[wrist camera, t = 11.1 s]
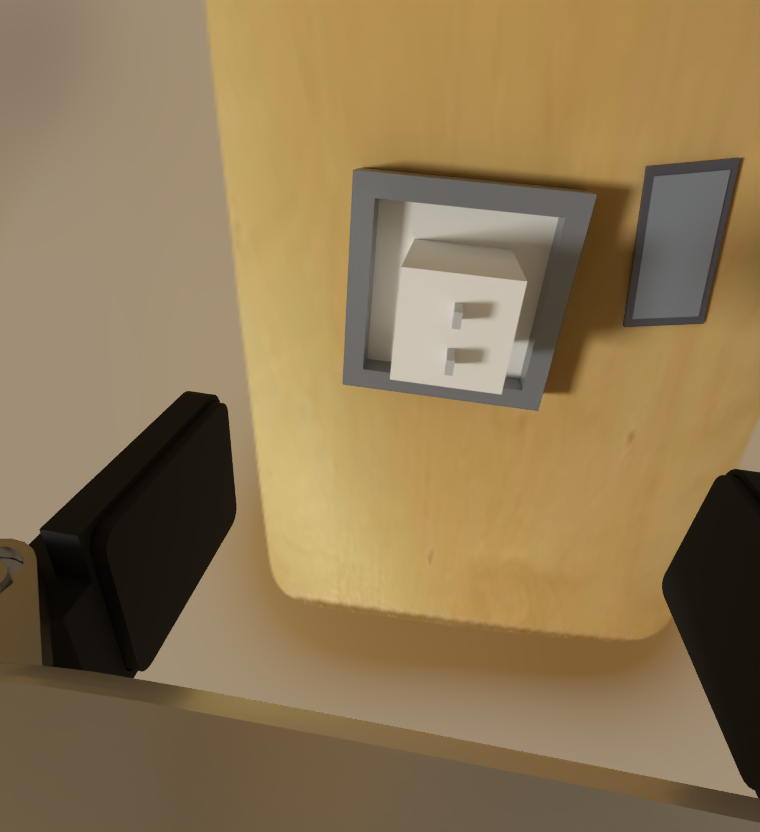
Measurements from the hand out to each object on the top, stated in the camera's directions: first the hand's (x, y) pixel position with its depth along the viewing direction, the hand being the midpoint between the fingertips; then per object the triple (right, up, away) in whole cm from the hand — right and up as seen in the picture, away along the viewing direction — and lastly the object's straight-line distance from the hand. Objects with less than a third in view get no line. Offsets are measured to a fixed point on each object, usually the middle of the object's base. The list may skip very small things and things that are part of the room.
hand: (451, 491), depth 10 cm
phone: (+12, +9, +13) cm, 20 cm away
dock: (+2, +8, +15) cm, 17 cm away
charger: (+2, +7, +14) cm, 16 cm away
